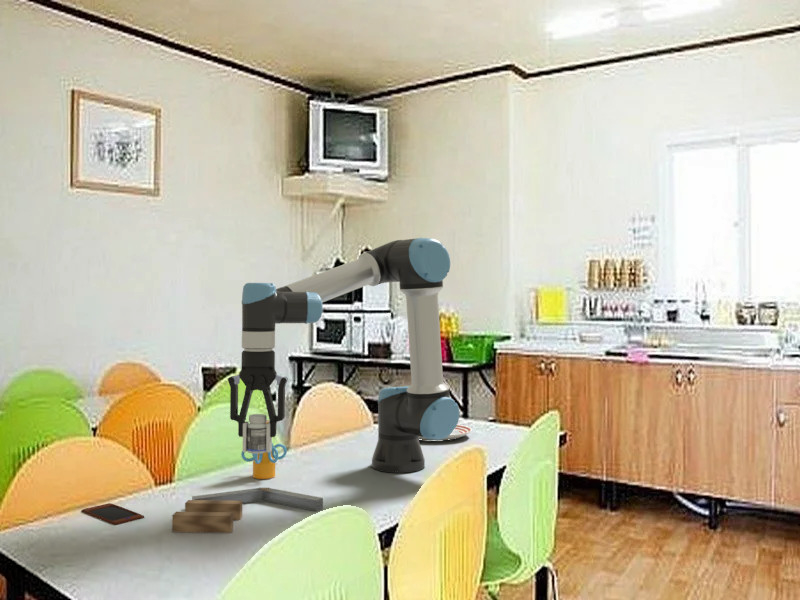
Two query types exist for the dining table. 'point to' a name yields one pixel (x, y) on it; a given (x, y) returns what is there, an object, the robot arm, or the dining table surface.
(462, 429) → the dinner plate
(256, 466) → the cylinder
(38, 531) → the dining table surface
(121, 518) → the smartphone
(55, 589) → the dining table surface
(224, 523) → the wooden blocks
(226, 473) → the dining table surface
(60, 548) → the dining table surface
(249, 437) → the pill bottle
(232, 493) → the v block
